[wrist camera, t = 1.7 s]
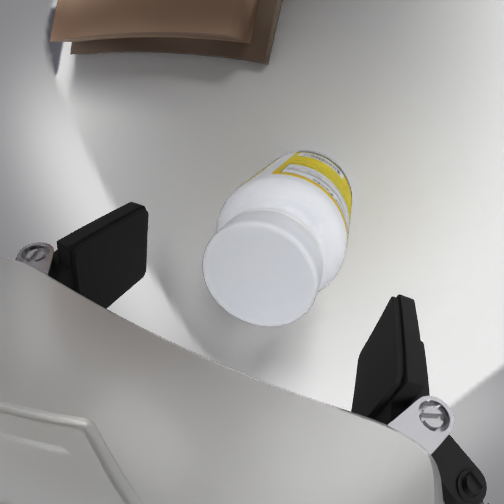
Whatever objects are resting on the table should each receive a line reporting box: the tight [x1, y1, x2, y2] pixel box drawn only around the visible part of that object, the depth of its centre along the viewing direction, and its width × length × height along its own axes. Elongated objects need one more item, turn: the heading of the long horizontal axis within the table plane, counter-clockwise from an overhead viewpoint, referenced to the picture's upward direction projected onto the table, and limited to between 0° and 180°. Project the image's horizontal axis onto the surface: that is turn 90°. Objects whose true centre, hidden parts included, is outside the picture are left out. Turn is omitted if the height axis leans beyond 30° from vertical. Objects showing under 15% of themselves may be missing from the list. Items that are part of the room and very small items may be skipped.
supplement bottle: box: [202, 150, 352, 327], centre depth 14 cm, size 5×5×10 cm
